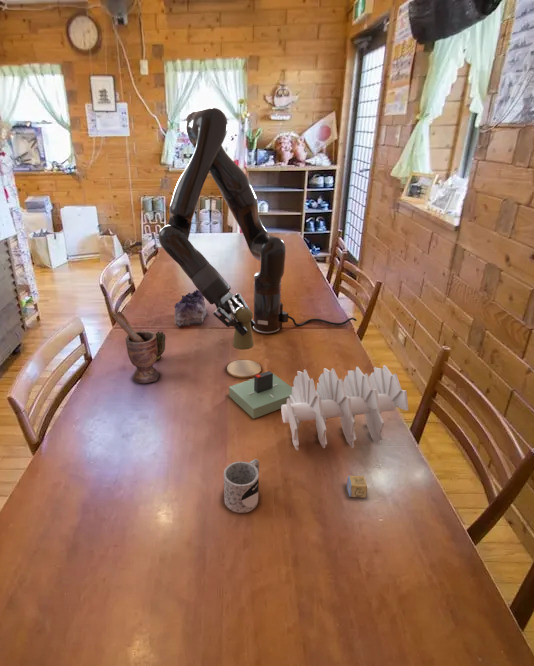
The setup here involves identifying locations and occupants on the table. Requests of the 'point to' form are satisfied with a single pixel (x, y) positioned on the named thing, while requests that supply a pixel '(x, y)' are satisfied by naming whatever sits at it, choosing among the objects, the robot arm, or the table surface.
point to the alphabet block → (356, 486)
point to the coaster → (243, 368)
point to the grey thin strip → (241, 486)
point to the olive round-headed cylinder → (245, 318)
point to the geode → (190, 310)
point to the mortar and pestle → (140, 350)
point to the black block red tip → (263, 381)
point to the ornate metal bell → (160, 344)
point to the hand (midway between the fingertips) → (249, 329)
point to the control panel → (260, 397)
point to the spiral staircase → (344, 401)
